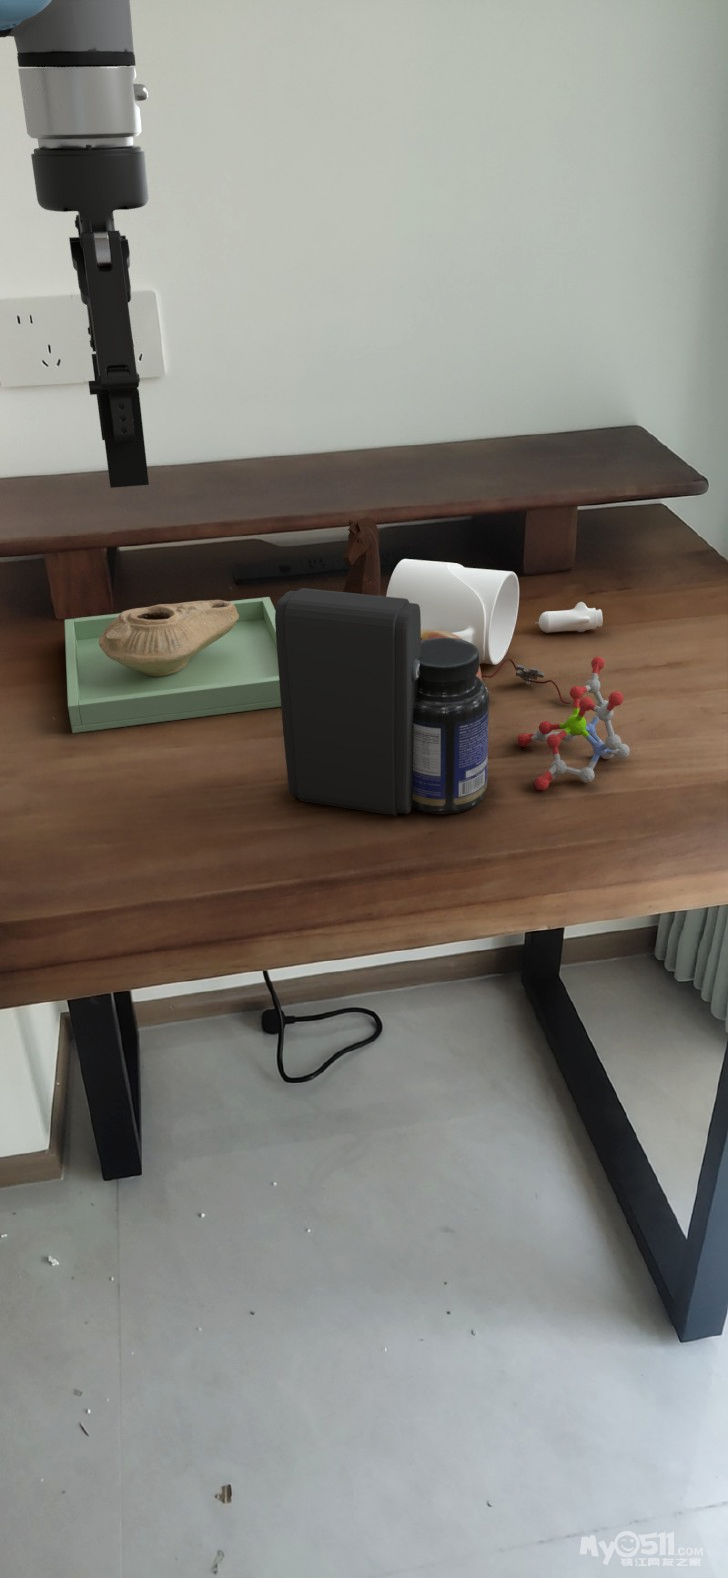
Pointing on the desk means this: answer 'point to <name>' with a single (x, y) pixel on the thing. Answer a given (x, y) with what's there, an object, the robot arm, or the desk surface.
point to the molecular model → (581, 730)
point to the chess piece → (363, 558)
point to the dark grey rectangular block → (349, 697)
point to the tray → (173, 675)
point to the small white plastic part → (571, 619)
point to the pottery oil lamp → (166, 634)
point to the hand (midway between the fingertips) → (124, 460)
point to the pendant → (528, 675)
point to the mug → (462, 602)
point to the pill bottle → (449, 728)
